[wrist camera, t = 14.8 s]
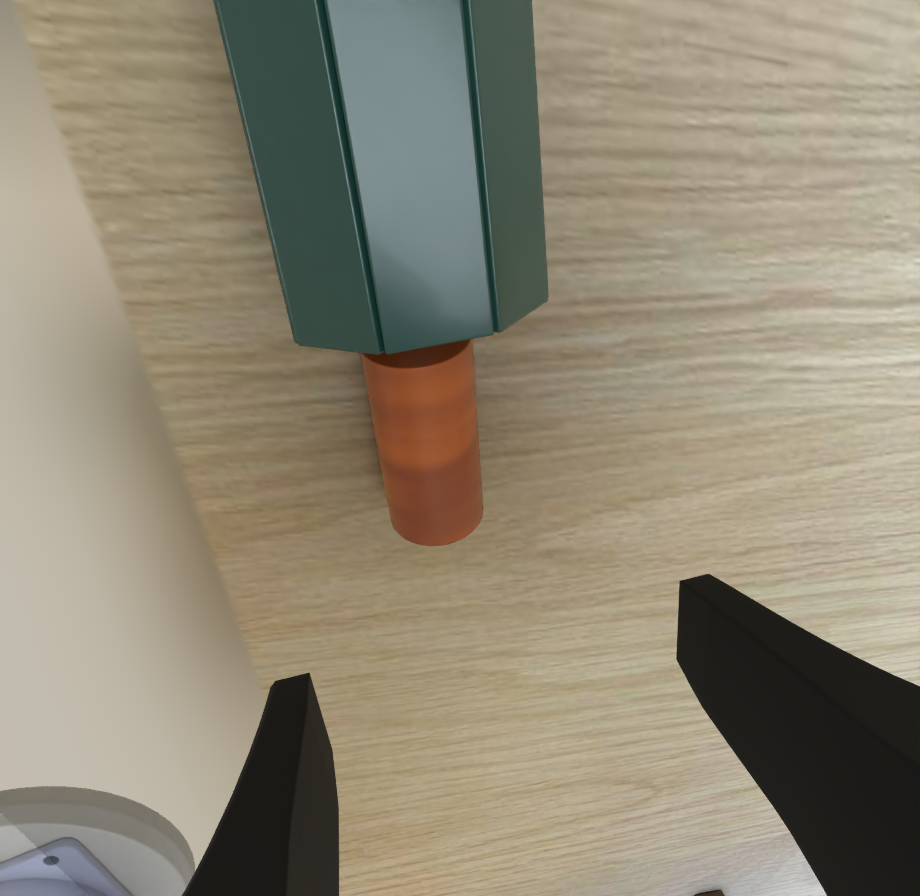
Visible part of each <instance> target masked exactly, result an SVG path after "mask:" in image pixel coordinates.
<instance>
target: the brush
mask: <svg viewBox="0 0 920 896" xmlns="http://www.w3.org/2000/svg"><path fill="white" fill-rule="evenodd" d="M360 355H361V360H362V366H363V371H364V377H365V382H366V387H367V393H368V398H369V404H370V409H371V415H372V420H373V426H374V431H375V437H376V442H377V447H378V453H379V458H380V464H381V469H382V475H383V480H384V486H385V491H386V496H387V502H388V507H389V513H390V518H391V523H392V525H393V527H394V529H395V530H396V532H397V533H398V534H399V535H400V536H402V537H403V538H404V539H406V540H408V541H410V542H412V543H415V544H419V545H425V546H440V545H446V544H450V543H454V542H456V541H459V540H461V539H463V538H465V537H466V536H468V535H469V534H470V533H471V532H473V531H474V530H475V528H476V527H477V526H478V524H479V523H480V521H481V519H482V515H483V497H482V481H481V466H480V450H479V434H478V419H477V403H476V387H475V372H474V356H473V340H472V339H468V340H463V341H457V342H452V343H447V344H441V345H436V346H430V347H425V348H419V349H414V350H409V351H403V352H398V353H392V354H386V353H385V352H383V353H381V354H379V355H376V354H368V353H360Z"/></svg>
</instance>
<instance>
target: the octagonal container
mask: <svg viewBox="0 0 920 896" xmlns="http://www.w3.org/2000/svg"><path fill="white" fill-rule="evenodd" d="M213 1H214V5H215V10H216V14H217V18H218V22H219V26H220V31H221V35H222V39H223V43H224V47H225V52H226V56H227V60H228V64H229V69H230V73H231V77H232V81H233V85H234V90H235V94H236V98H237V102H238V106H239V111H240V115H241V119H242V123H243V127H244V132H245V136H246V140H247V144H248V149H249V153H250V157H251V161H252V165H253V170H254V174H255V178H256V182H257V186H258V191H259V195H260V199H261V203H262V207H263V212H264V216H265V220H266V224H267V229H268V233H269V237H270V241H271V245H272V250H273V254H274V258H275V262H276V266H277V271H278V275H279V279H280V283H281V287H282V292H283V296H284V300H285V304H286V309H287V313H288V317H289V321H290V325H291V330H292V334H293V338H294V342H295V343H297V344H299V345H300V346H308V347H317V348H325V349H334V350H342V351H351V352H359V353H368V354H376V355H379V354H381V353H383V352H385V353H386V354H392V353H398V352H403V351H409V350H414V349H419V348H425V347H430V346H436V345H441V344H447V343H452V342H457V341H463V340H468V339H474V338H479V337H485V336H490V335H493V334H494V332H499V333H500V332H502V331H503V330H505V329H506V328H508V327H509V326H511V325H512V324H514V323H515V322H517V321H518V320H520V319H521V318H523V317H524V316H526V315H527V314H529V313H530V312H532V311H533V310H535V309H536V308H538V307H539V306H541V305H542V304H544V303H545V302H547V301H548V280H547V262H546V245H545V227H544V209H543V191H542V173H541V156H540V138H539V120H538V102H537V84H536V67H535V49H534V31H533V13H532V0H213Z"/></svg>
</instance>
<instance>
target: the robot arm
mask: <svg viewBox="0 0 920 896" xmlns="http://www.w3.org/2000/svg"><path fill="white" fill-rule="evenodd" d="M677 661H678V663H679V665H680V667H681V669H682V671H683V672H684V674H685V676H686V678H687V680H688V682H689V684H690V686H691V688H692V689H693V691H694V693H695V695H696V696H697V698H698V700H699V702H700V704H701V705H702V707H703V708H704V710H705V711H706V713H707V714H708V716H709V717H710V719H711V720H712V721H713V723H714V724H715V726H716V727H717V728H718V730H719V731H720V733H721V734H722V736H723V737H724V738H725V740H726V741H727V743H728V744H729V745H730V747H731V748H732V750H733V751H734V752H735V754H736V755H737V757H738V758H739V759H740V761H741V762H742V764H743V765H744V766H745V768H746V769H747V771H748V772H749V773H750V775H751V776H752V777H753V779H754V780H755V782H756V783H757V784H758V786H759V787H760V789H761V790H762V791H763V793H764V794H765V796H766V797H767V798H768V800H769V801H770V803H771V804H772V805H773V807H774V808H775V810H776V811H777V813H778V814H779V816H780V817H781V819H782V820H783V822H784V823H785V825H786V826H787V828H788V829H789V831H790V832H791V834H792V836H793V837H794V839H795V841H796V843H797V844H798V846H799V848H800V849H801V851H802V853H803V855H804V856H805V858H806V860H807V861H808V863H809V865H810V866H811V868H812V870H813V872H814V873H815V875H816V877H817V878H818V880H819V882H820V883H821V885H822V887H823V889H824V891H825V892H826V894H827V896H920V686H918V685H915V684H913V683H911V682H908V681H906V680H904V679H901V678H899V677H897V676H894V675H892V674H890V673H888V672H886V671H884V670H882V669H879V668H877V667H875V666H873V665H871V664H869V663H867V662H865V661H863V660H861V659H859V658H857V657H855V656H853V655H851V654H849V653H847V652H845V651H843V650H841V649H839V648H837V647H836V646H834V645H832V644H830V643H828V642H826V641H824V640H822V639H821V638H819V637H817V636H815V635H813V634H811V633H810V632H808V631H806V630H804V629H803V628H801V627H799V626H797V625H795V624H794V623H792V622H790V621H788V620H787V619H785V618H783V617H782V616H780V615H778V614H776V613H775V612H773V611H771V610H770V609H768V608H766V607H764V606H763V605H761V604H759V603H758V602H756V601H754V600H753V599H751V598H749V597H748V596H746V595H744V594H743V593H741V592H739V591H738V590H736V589H734V588H732V587H731V586H729V585H727V584H726V583H724V582H722V581H720V580H719V579H717V578H715V577H713V576H712V575H710V574H706V575H702V576H698V577H694V578H690V579H686V580H682V581H680V587H679V611H678V635H677ZM0 896H132V895H131V894H130V893H129V892H128V891H127V890H126V889H125V888H124V887H123V886H122V885H121V884H120V883H119V882H118V881H117V880H116V879H115V878H114V876H113V875H112V874H111V873H110V872H109V871H108V870H107V869H106V868H105V867H104V866H103V865H102V864H101V863H100V862H99V861H98V860H97V859H96V858H95V857H94V856H93V855H92V854H91V853H90V852H89V851H88V850H87V849H86V848H85V847H84V846H83V845H82V844H81V843H80V842H79V841H77V840H75V839H72V838H63V839H60V840H57V841H55V842H52V843H50V844H47V845H45V846H42V847H40V848H37V849H35V850H32V851H30V852H27V853H25V854H22V855H20V856H17V857H15V858H12V859H10V860H7V861H5V862H2V863H0ZM182 896H339V807H338V797H337V787H336V778H335V769H334V761H333V752H332V747H331V744H330V741H329V737H328V734H327V731H326V727H325V724H324V720H323V717H322V714H321V710H320V707H319V704H318V700H317V697H316V693H315V690H314V687H313V683H312V680H311V677H310V673H306V674H302V675H298V676H294V677H290V678H286V679H282V680H278V681H275V682H274V684H273V685H272V686H271V687H270V691H269V695H268V698H267V702H266V705H265V708H264V712H263V715H262V718H261V721H260V724H259V727H258V730H257V732H256V735H255V738H254V741H253V744H252V746H251V749H250V752H249V754H248V757H247V759H246V762H245V764H244V767H243V769H242V772H241V774H240V777H239V779H238V782H237V784H236V787H235V789H234V791H233V794H232V796H231V798H230V801H229V803H228V805H227V807H226V809H225V812H224V814H223V816H222V818H221V820H220V822H219V824H218V827H217V829H216V831H215V833H214V835H213V837H212V840H211V842H210V844H209V846H208V848H207V850H206V852H205V854H204V856H203V858H202V860H201V862H200V864H199V866H198V868H197V869H196V871H195V873H194V875H193V877H192V879H191V881H190V882H189V884H188V886H187V888H186V890H185V891H184V893H183V895H182Z"/></svg>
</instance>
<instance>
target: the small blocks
mask: <svg viewBox="0 0 920 896" xmlns="http://www.w3.org/2000/svg"><path fill="white" fill-rule="evenodd" d="M695 896H724V894H723V892H722V891H716V892H710V893H705V894H699V895H695Z"/></svg>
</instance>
